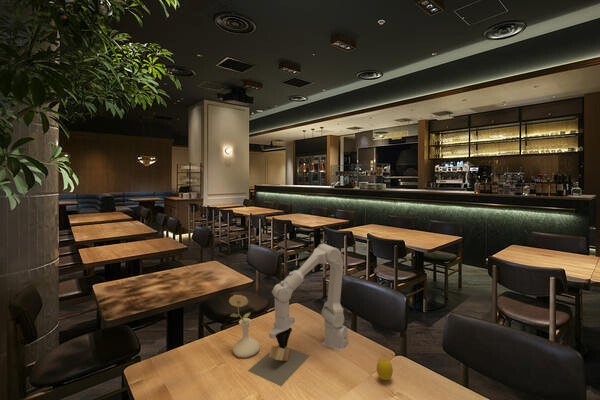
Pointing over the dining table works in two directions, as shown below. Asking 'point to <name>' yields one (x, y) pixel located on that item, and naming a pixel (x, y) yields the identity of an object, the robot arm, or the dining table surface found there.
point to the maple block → (279, 353)
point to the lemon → (384, 369)
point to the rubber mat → (279, 367)
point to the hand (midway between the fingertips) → (283, 346)
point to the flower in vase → (246, 344)
